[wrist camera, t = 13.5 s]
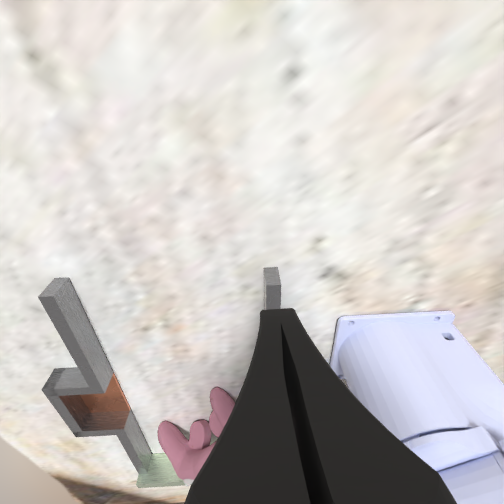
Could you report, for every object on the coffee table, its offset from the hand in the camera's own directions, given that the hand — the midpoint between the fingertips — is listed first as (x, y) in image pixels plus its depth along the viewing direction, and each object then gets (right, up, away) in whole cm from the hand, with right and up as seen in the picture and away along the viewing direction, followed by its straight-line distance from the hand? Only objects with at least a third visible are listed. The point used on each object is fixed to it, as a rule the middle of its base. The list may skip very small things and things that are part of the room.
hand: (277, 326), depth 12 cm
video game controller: (-6, -14, +19) cm, 24 cm away
